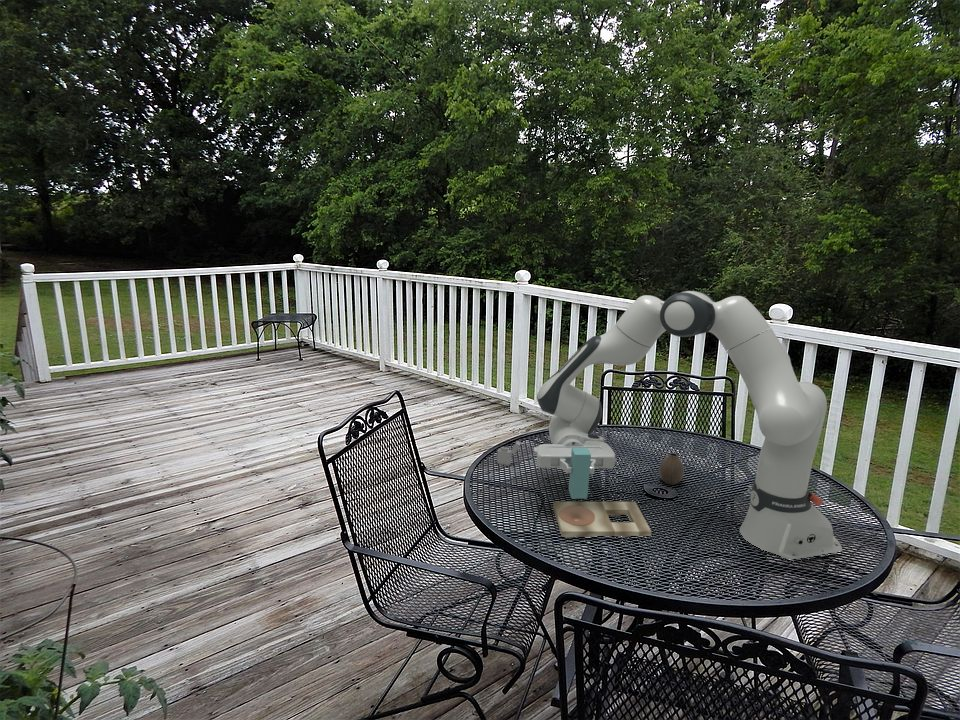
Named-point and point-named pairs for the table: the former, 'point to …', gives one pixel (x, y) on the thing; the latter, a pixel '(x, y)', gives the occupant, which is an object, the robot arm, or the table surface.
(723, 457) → the table surface
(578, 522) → the tan flat disc
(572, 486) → the peg
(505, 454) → the lighter
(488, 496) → the table surface
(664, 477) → the vase
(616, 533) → the pocket board
